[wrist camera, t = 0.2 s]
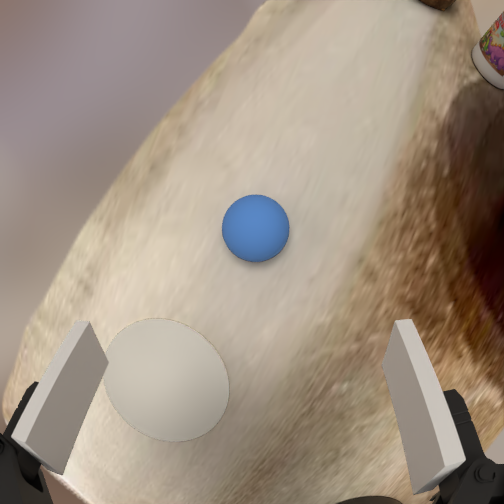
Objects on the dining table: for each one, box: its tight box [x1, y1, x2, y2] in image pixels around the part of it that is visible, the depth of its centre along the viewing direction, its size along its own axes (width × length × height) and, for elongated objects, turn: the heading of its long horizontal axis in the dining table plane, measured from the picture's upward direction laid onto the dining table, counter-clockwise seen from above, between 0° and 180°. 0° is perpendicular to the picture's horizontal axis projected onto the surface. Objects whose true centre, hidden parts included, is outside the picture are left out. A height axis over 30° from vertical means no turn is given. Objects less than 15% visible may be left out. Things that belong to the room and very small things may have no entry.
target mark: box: [103, 318, 229, 442], centre depth 28 cm, size 13×13×1 cm
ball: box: [222, 195, 289, 262], centre depth 27 cm, size 6×6×6 cm
